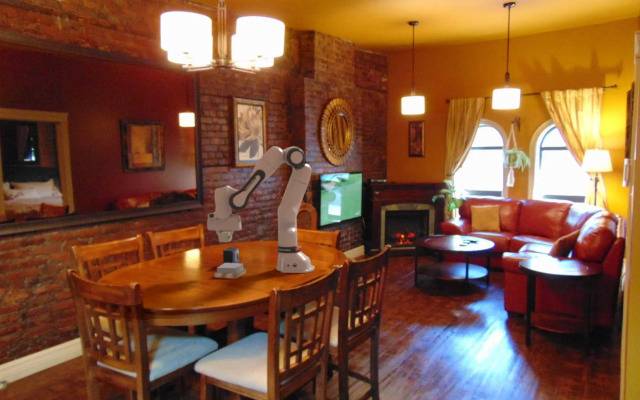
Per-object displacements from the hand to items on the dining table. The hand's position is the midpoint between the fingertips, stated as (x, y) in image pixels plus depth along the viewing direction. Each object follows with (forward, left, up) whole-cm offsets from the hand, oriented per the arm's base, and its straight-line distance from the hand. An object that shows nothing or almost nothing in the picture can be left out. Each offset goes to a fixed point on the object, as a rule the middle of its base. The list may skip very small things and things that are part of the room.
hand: (225, 238), depth 259 cm
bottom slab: (-3, +2, -21) cm, 21 cm away
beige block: (0, 0, -2) cm, 2 cm away
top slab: (-3, +2, -18) cm, 19 cm away
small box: (+6, -17, -21) cm, 28 cm away
